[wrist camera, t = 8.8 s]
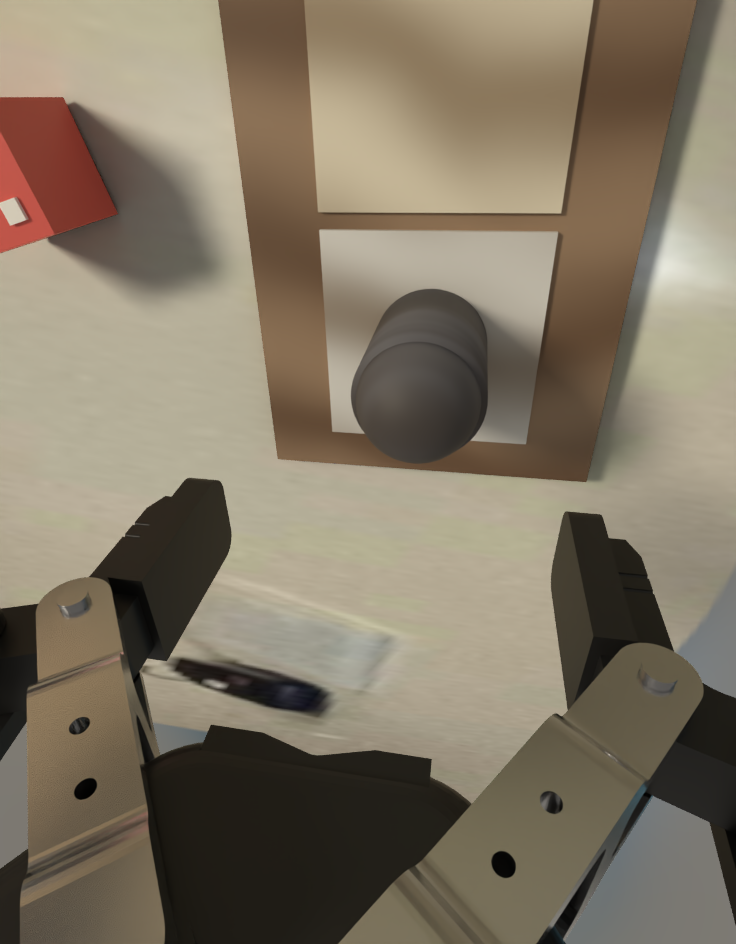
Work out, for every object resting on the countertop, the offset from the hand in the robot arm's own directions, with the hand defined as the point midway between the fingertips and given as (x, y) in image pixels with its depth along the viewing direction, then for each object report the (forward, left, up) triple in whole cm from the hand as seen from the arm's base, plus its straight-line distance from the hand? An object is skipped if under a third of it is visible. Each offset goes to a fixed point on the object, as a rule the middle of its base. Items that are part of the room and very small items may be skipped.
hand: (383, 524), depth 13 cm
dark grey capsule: (0, 0, -11) cm, 11 cm away
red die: (-6, -15, -12) cm, 20 cm away
